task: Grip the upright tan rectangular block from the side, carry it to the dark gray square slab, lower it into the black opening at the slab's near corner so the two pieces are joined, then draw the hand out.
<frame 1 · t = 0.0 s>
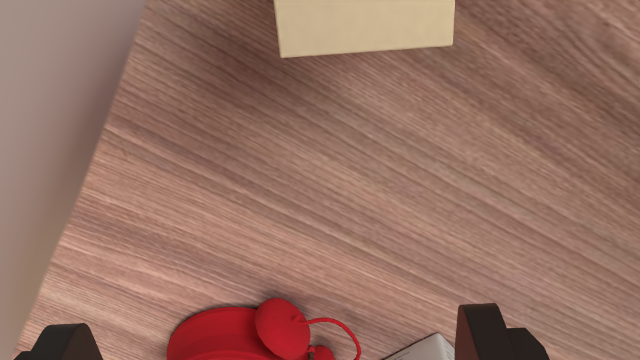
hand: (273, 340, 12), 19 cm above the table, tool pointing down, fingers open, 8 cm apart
alarm clock: (259, 344, 40), on the table
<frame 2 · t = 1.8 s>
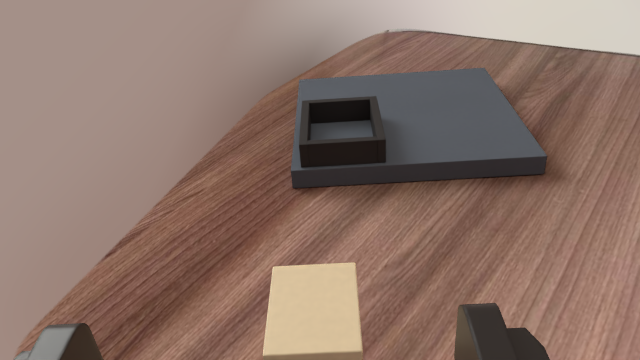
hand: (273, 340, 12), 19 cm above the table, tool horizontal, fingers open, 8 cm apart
dark gray square slab: (402, 127, 61), on the table
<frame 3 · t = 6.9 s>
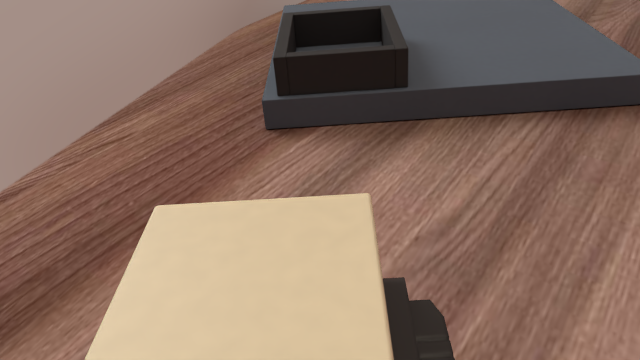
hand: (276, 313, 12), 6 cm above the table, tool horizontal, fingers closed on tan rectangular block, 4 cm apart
dark gray square slab: (426, 55, 43), on the table
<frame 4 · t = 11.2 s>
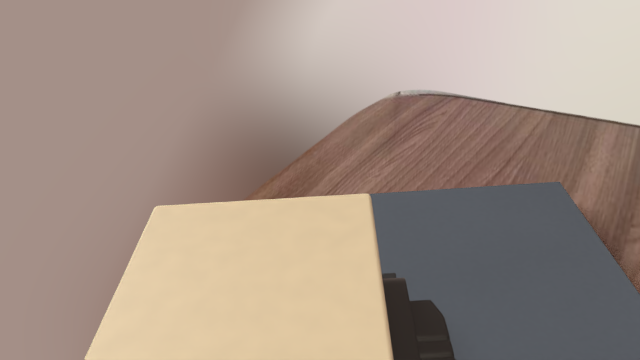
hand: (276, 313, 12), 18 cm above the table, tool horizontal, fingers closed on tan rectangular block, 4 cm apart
dark gray square slab: (438, 310, 36), on the table
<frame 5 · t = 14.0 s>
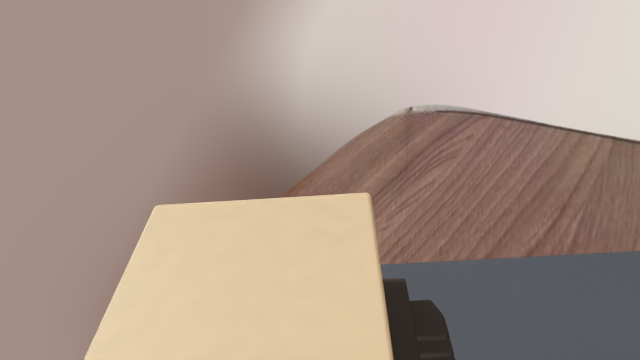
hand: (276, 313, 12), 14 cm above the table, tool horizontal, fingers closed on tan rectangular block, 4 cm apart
when the fingers open (8 cm above the table, at t = 16.0 s): tan rectangular block stays where it is, resting on dark gray square slab.
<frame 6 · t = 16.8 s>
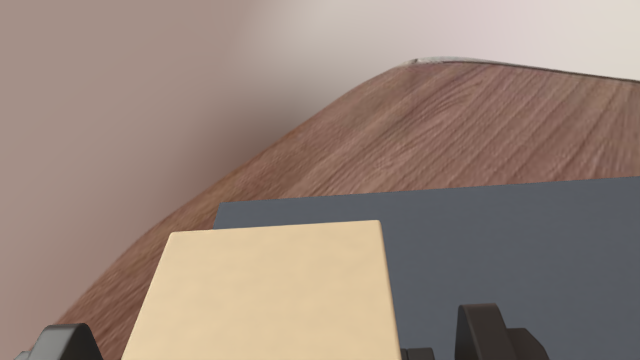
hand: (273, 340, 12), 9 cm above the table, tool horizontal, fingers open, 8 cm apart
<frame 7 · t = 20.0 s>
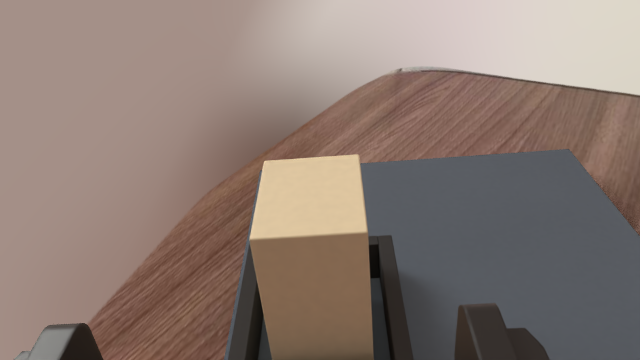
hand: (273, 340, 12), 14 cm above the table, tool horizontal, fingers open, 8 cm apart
dark gray square slab: (438, 279, 33), on the table
tan rectangular block: (326, 339, 27), point 2 cm above the table, touching dark gray square slab
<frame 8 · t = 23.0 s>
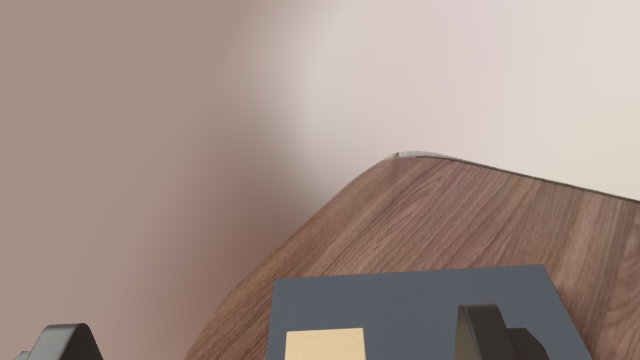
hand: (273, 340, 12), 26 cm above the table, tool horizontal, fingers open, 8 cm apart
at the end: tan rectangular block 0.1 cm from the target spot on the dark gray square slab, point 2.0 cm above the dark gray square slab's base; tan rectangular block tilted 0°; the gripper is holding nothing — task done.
